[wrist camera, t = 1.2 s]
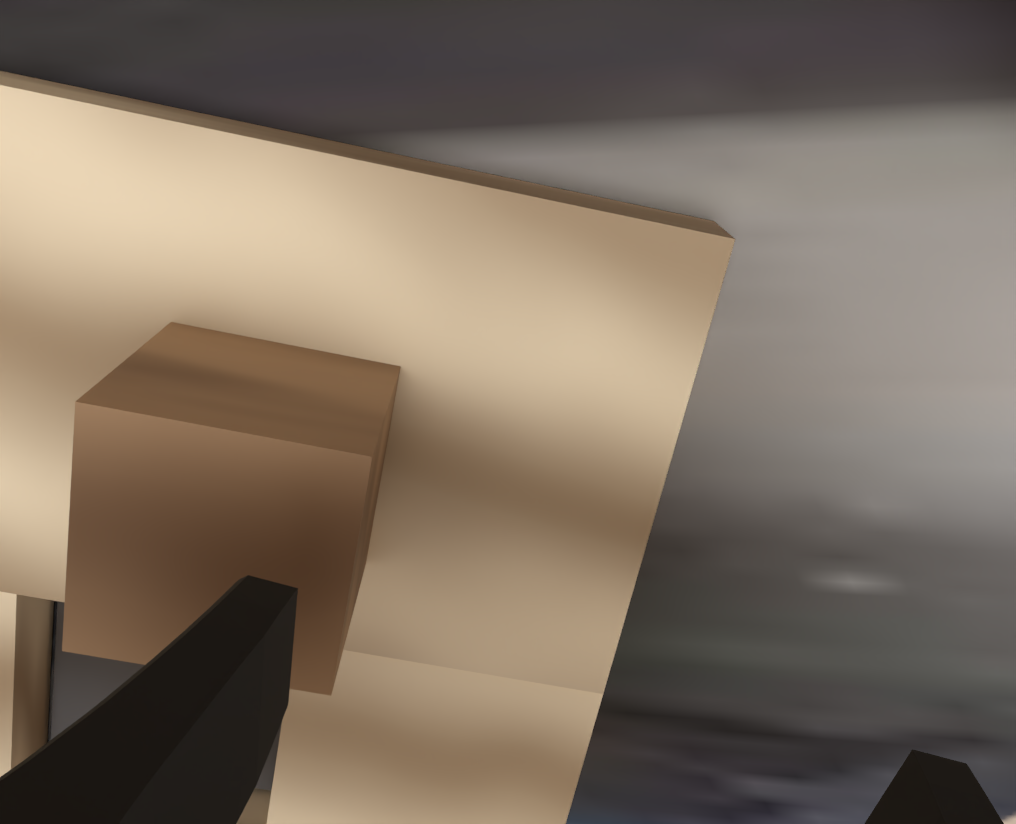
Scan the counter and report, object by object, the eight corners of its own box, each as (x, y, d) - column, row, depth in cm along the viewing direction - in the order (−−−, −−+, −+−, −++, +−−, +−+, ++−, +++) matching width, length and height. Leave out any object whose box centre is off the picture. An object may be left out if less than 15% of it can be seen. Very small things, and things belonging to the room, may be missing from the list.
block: (365, 563, 21) (331, 696, 16) (153, 525, 20) (62, 651, 16) (400, 366, 19) (372, 456, 15) (171, 321, 19) (75, 402, 15)
